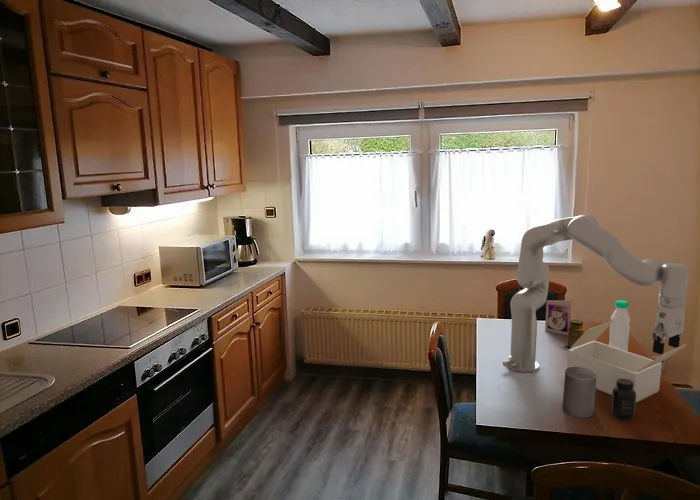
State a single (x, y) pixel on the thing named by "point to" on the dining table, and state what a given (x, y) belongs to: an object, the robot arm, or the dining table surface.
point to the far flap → (591, 334)
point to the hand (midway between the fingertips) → (665, 349)
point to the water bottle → (620, 326)
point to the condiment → (574, 333)
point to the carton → (616, 368)
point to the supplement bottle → (623, 400)
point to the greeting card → (558, 316)
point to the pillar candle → (579, 392)
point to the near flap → (662, 357)
